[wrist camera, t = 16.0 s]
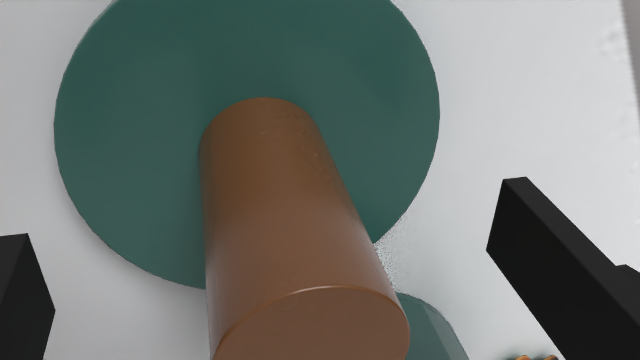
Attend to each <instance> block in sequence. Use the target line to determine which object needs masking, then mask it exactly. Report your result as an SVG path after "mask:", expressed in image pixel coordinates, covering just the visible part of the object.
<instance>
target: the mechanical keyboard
mask: <svg viewBox="0 0 640 360" xmlns="http://www.w3.org/2000/svg"><path fill="white" fill-rule="evenodd" d="M515 360H530V359H529V358H528V356H526V355H523V356H521V357H517V358H516V359H515ZM543 360H558V358H557V357H556V356H554V355H551V356H549V357H547V358H545V359H543Z"/></svg>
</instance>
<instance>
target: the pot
mask: <svg viewBox="0 0 640 360" xmlns="http://www.w3.org/2000/svg"><path fill="white" fill-rule="evenodd" d="M395 293H396V295H397V298H398V300H399V302H400V304H401V306H402V308H403V310H404V313H405V315H406V317H407V320H408V323H409V326H410V345H409V349H408V353H407V355H406V358H405V360H469V358H468V356H467V354H466V353H465V351H464V349H463V347H462V345H461V343H460V342H459V340H458V338H457V336H456V334H455V332H454V331H453V329H452V327H451V325H450V324H449V322H447V321H446V320H445V318H444V317H443V316H442V315H441V313H440V312H438V311H437V310H436V309H435V308H434V307H432V306H431V305H429V304H428V303H426V302H424V301H422V300H420V299H418V298H415V297H412V296H410V295H405V294H401V293H397V292H395Z"/></svg>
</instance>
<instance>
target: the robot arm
mask: <svg viewBox="0 0 640 360" xmlns="http://www.w3.org/2000/svg"><path fill="white" fill-rule="evenodd" d="M486 251H487V253H488V254H489V255H490V257H491V258H492V259H493V261H494V262H495V263H496V265H497V266H498V268H499V269H500V270H501V272H502V273H503V274H504V276H505V277H506V279H507V280H508V281H509V283H510V284H511V285H512V287H513V288H514V289H515V291H516V292H517V294H518V295H519V296H520V298H521V299H522V300H523V302H524V303H525V305H526V306H527V307H528V309H529V310H530V311H531V313H532V314H533V315H534V317H535V318H536V320H537V321H538V322H539V324H540V325H541V326H542V328H543V329H544V331H545V332H546V333H547V335H548V336H549V337H550V339H551V340H552V342H553V343H554V344H555V346H556V347H557V348H558V350H559V351H560V352H561V354H562V355H563V357H564V358H565V359H566V360H640V273H639V272H638V271H636V270H634V269H633V268H631V267H629V266H628V265H626V264H625V265H619V266H615V265H614V264H613V263H612V262H611V261H610V260H609V259H608V258H607V257H606V256H605V255H604V254H603V253H602V252H601V251H600V250H599V249H598V248H597V247H596V246H595V245H594V244H593V243H592V242H591V241H590V240H589V239H588V238H587V237H586V236H585V235H584V234H583V233H582V232H581V231H580V230H579V229H578V228H577V227H576V226H575V225H574V224H573V223H572V222H571V221H570V220H569V219H568V218H567V217H566V216H565V215H564V214H563V213H562V212H561V211H560V210H559V209H558V208H557V207H556V206H555V205H554V204H553V203H552V202H551V201H550V200H549V199H548V198H547V197H546V196H545V195H544V194H543V193H542V192H541V191H540V190H539V189H538V188H537V187H536V186H535V185H534V184H533V183H532V182H531V181H530V180H529V179H528V178H527V177H519V178H510V179H503V181H502V185H501V189H500V194H499V198H498V202H497V206H496V210H495V215H494V219H493V223H492V227H491V231H490V235H489V240H488V244H487V248H486ZM55 311H56V310H55V308H54V305H53V302H52V299H51V297H50V294H49V291H48V288H47V285H46V283H45V280H44V277H43V274H42V272H41V269H40V266H39V263H38V261H37V258H36V255H35V252H34V249H33V247H32V244H31V241H30V238H29V236H28V233H26V234H17V235H8V236H0V360H43V356H44V352H45V349H46V345H47V341H48V337H49V334H50V330H51V326H52V322H53V318H54V315H55Z"/></svg>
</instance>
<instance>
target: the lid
mask: <svg viewBox="0 0 640 360" xmlns="http://www.w3.org/2000/svg"><path fill="white" fill-rule="evenodd" d="M439 120H440V108H439V92H438V87H437V82H436V77H435V72H434V70H433V67H432V64H431V61H430V58H429V56H428V53H427V50H426V49H425V47H424V45H423V43H422V41H421V39H420V37H419V36H418V34H417V32H416V30H415V29H414V28H413V26H412V25H411V24H410V22H409V21H408V20H407V18H406V17H405V16H404V14H403V13H402V12H401V11H400V10H399V9H398V8H397V7H396V6H395V5H394V4H393V3H392V2H391V1H390V0H113V1H112V2H111V3H110V4H109V6H108V7H107V8H106V9H105V10H104V11H103V12H102V13H101V14H100V15H99V16H98V17H97V18H96V19H95V20H94V22H93V23H92V24H91V26H90V27H89V29H88V30H87V32H86V33H85V35H84V36H83V38H82V39H81V40H80V42H79V43H78V45H77V47H76V49H75V51H74V53H73V55H72V58H71V60H70V62H69V64H68V66H67V68H66V70H65V73H64V75H63V78H62V82H61V85H60V89H59V92H58V96H57V99H56V108H55V117H54V143H55V152H56V157H57V161H58V166H59V171H60V174H61V177H62V179H63V182H64V184H65V187H66V189H67V192H68V194H69V196H70V198H71V200H72V201H73V203H74V205H75V207H76V208H77V210H78V212H79V214H80V215H81V216H82V218H83V219H84V220H85V221H86V223H87V224H88V225H89V226H90V228H91V229H92V230H93V232H94V233H95V234H97V235H98V236H99V237H100V238H101V239H102V240H103V241H104V242H105V243H106V244H107V245H108V246H109V247H110V248H111V249H113V250H114V251H115V252H117V253H118V254H119V255H121V256H122V257H123V258H125V259H126V260H128V261H129V262H131V263H133V264H135V265H136V266H138V267H140V268H141V269H143V270H145V271H147V272H149V273H152V274H154V275H156V276H159V277H161V278H163V279H166V280H169V281H172V282H176V283H179V284H182V285H185V286H190V287H195V288H201V289H206V294H207V310H208V327H209V344H210V360H405V358H406V355H407V353H408V349H409V345H410V326H409V323H408V320H407V317H406V315H405V313H404V310H403V308H402V306H401V304H400V302H399V300H398V298H397V295H396V293H395V291H394V289H393V287H392V285H391V283H390V280H389V278H388V276H387V274H386V272H385V270H384V267H383V265H382V263H381V261H380V259H379V257H378V255H377V252H376V250H375V248H374V246H373V244H374V243H375V242H377V241H378V240H379V239H380V238H381V237H382V236H383V235H384V234H385V233H386V232H387V231H388V230H389V229H390V228H391V227H392V226H393V225H394V224H395V223H396V222H397V221H398V220H399V218H400V217H401V216H402V215H403V214H404V212H405V211H406V210H407V208H408V207H409V205H410V204H411V202H412V201H413V199H414V198H415V196H416V195H417V193H418V191H419V189H420V187H421V185H422V183H423V181H424V180H425V178H426V176H427V173H428V170H429V167H430V165H431V162H432V159H433V156H434V152H435V148H436V143H437V139H438V131H439Z"/></svg>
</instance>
